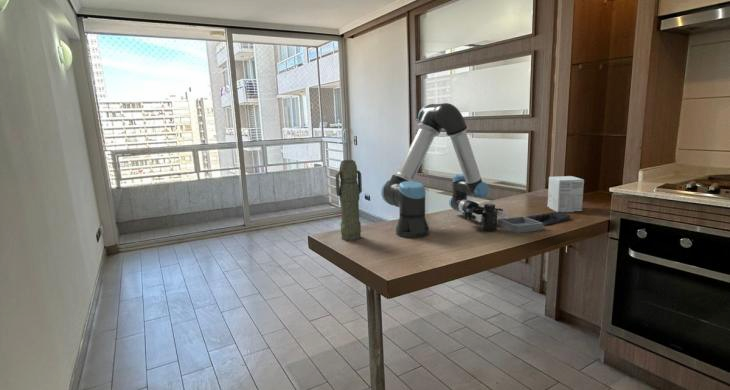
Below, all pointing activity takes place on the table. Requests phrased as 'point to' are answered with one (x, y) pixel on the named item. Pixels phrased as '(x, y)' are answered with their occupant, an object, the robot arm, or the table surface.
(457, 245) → the table surface
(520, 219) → the tray
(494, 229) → the supplement bottle
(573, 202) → the supplement box
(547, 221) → the dark slate chunk
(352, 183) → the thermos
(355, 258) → the table surface
